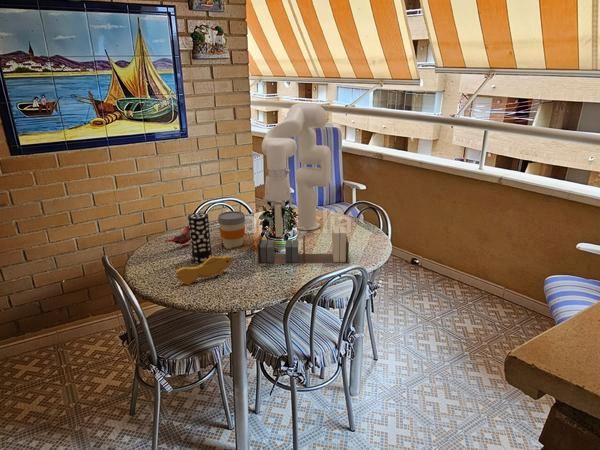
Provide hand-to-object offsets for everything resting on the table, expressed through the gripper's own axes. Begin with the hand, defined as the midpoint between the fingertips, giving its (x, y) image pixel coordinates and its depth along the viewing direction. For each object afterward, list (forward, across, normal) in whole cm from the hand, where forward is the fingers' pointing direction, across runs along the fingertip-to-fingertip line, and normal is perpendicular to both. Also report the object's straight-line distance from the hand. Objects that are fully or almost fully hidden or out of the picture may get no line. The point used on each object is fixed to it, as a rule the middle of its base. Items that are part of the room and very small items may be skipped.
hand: (278, 216), depth 168 cm
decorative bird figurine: (+20, +47, -15) cm, 54 cm away
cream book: (+8, 0, 0) cm, 8 cm away
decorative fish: (+20, +28, +18) cm, 39 cm away
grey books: (+19, 0, +1) cm, 19 cm away
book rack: (+20, -10, +1) cm, 22 cm away
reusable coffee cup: (+20, +23, -17) cm, 35 cm away
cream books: (+19, -25, +1) cm, 31 cm away
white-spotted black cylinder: (+20, +34, -1) cm, 40 cm away
